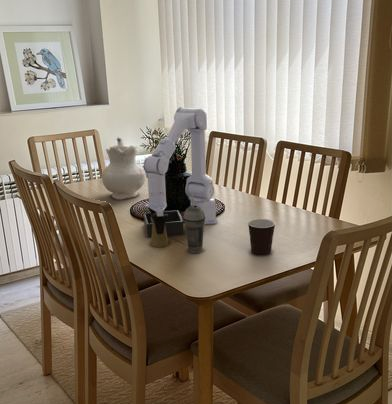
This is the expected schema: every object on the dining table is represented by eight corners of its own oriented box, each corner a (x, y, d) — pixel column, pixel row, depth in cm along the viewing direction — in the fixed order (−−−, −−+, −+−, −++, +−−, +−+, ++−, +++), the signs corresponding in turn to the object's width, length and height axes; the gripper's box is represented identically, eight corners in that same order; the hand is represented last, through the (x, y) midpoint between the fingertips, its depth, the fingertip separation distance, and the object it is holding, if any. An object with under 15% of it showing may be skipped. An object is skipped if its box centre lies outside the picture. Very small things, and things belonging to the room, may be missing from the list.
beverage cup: (190, 256, 179) (188, 197, 172) (180, 249, 185) (178, 192, 178) (210, 252, 182) (209, 194, 175) (199, 245, 188) (198, 188, 181)
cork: (165, 247, 186) (164, 216, 183) (148, 246, 188) (147, 216, 184) (170, 241, 192) (168, 211, 188) (153, 240, 193) (152, 210, 189)
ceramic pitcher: (98, 194, 255) (89, 141, 245) (138, 185, 262) (130, 133, 252) (112, 206, 236) (103, 150, 227) (154, 196, 243) (146, 141, 234)
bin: (178, 222, 210) (178, 210, 209) (183, 234, 198) (183, 221, 196) (144, 225, 208) (143, 213, 206) (147, 237, 196) (146, 224, 194)
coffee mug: (267, 258, 175) (268, 229, 172) (243, 253, 179) (243, 225, 176) (282, 247, 184) (283, 218, 181) (259, 242, 189) (259, 215, 185)
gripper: (143, 186, 189) (145, 224, 194) (146, 198, 176) (149, 238, 181) (163, 185, 190) (165, 222, 195) (168, 197, 177) (170, 236, 182)
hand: (158, 229), depth 188 cm, fingers open, 7 cm apart
